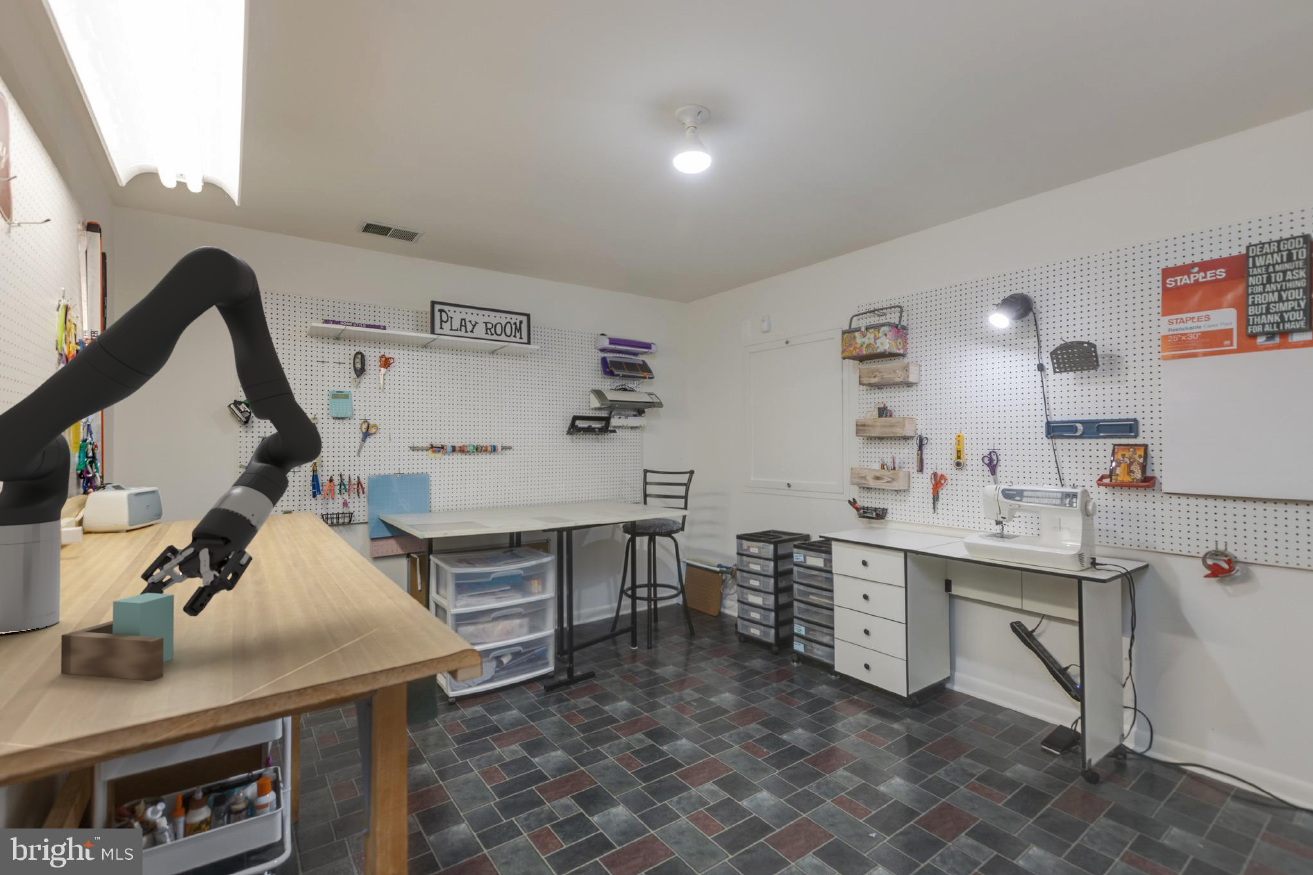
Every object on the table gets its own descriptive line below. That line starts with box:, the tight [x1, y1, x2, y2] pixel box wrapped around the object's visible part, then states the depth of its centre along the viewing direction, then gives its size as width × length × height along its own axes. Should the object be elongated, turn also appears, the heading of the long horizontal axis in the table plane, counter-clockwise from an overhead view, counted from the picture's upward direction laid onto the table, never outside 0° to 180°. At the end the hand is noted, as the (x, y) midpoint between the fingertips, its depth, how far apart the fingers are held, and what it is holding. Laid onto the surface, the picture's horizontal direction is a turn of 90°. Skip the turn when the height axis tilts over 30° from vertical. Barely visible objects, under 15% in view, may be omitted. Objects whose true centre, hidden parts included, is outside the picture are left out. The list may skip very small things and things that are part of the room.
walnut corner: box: [60, 620, 164, 681], centre depth 81 cm, size 14×10×5 cm
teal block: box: [112, 593, 175, 663], centre depth 81 cm, size 4×4×9 cm
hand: (163, 612), depth 83 cm, fingers open, 8 cm apart
